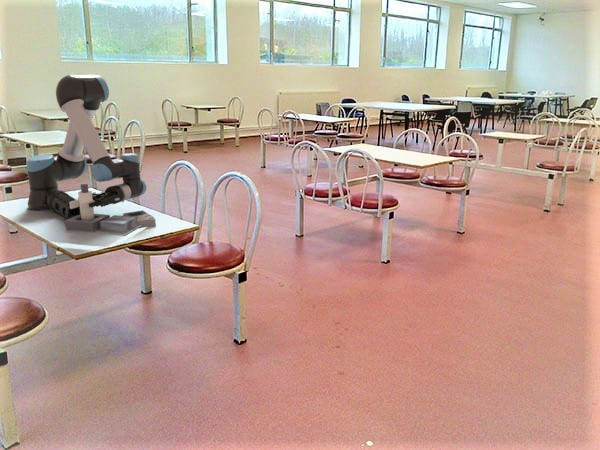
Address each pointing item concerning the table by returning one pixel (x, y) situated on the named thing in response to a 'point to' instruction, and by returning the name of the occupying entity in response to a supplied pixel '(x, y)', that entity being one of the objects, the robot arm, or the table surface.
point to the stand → (118, 224)
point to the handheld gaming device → (142, 218)
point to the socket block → (85, 223)
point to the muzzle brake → (62, 204)
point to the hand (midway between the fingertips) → (76, 206)
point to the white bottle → (85, 197)
